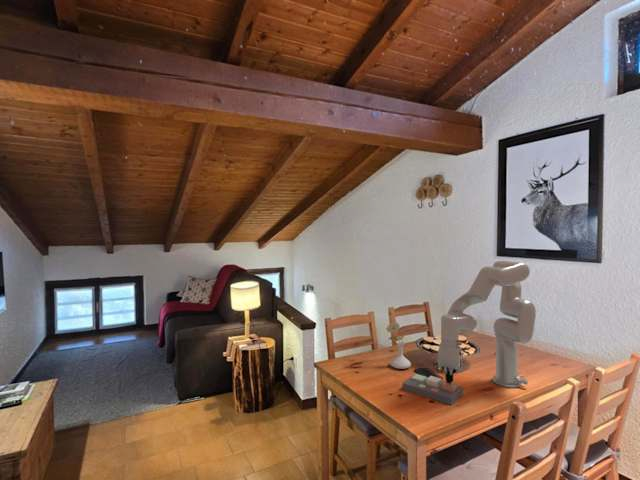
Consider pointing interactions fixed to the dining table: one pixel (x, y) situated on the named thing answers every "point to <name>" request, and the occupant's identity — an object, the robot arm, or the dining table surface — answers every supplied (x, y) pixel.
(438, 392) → the keypad
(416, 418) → the dining table surface
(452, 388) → the key terracotta
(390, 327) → the flower in vase
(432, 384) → the key cream
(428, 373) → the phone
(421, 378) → the key sage
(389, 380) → the dining table surface
